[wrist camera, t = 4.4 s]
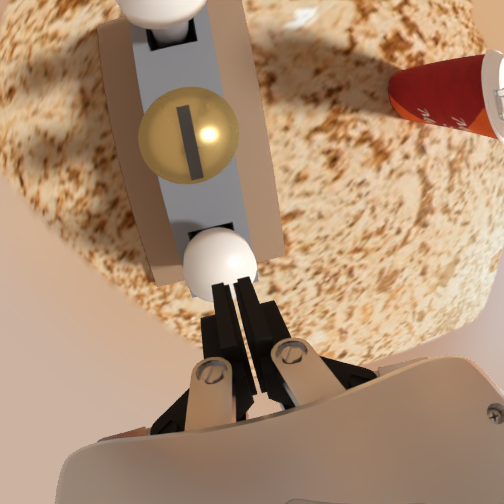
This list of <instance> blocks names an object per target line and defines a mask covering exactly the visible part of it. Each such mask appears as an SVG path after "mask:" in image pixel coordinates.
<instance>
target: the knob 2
mask: <svg viewBox="0 0 504 504" xmlns="http://www.w3.org/2000/svg"><path fill="white" fill-rule="evenodd" d="M256 271H257V265H256V260H255V257H254V254H253V252H252V251H251V249H250V247H249V245H248V243H247V241H246V240H245V239H244V238H243V237H242V236H241V235H240V234H239V233H237V232H235V231H233V230H231V229H228V228H226V227H225V225H224V224H222V225H217V226H213V227H209V228H205V229H201V230H197V235H196V236H195V237H193V239H192V240H191V241H190V242H189V243H188V245H187V247H186V250H185V253H184V262H183V274H184V279H185V282H186V284H187V286H188V288H189V289H190V290H191V291H192V292H193V293H194V294H195V295H196V296H197V297H199V298H201V299H203V300H206V301H209V302H213V294H212V287H211V285H214V284H218V283H222V282H224V285H228V284H229V286H230V290H231V294H232V298H233V300H234V299H236V294H235V290H234V286H233V283H237V279H239V278H243V277H247V276H249V277H250V279H251V282H252V283H253V281H254V279H255V276H256Z"/></svg>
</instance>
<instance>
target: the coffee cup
mask: <svg viewBox="0 0 504 504" xmlns="http://www.w3.org/2000/svg"><path fill="white" fill-rule="evenodd" d="M388 91H389V98H390V101H391V104H392V106H393V108H394V109H395V111H396V112H397V113H398V114H399V115H400V116H401V117H403V118H405V119H407V120H411V121H416V122H422V123H427V124H433V125H438V126H444V127H449V128H454V129H458V130H463V131H467V132H472V133H476V134H480V135H484V136H488V137H491V138H495V139H499V140H500V141H501V143H503V144H504V54H503V53H501V52H499V51H497V50H489V51H488V52H487V53H486V54H483V55H476V56H469V57H462V58H456V59H450V60H445V61H440V62H435V63H430V64H426V65H421V66H417V67H413V68H409V69H406V70H402V71H399V72H397V73H395V74H394V75H393V76H392V78H391V80H390V82H389V88H388Z"/></svg>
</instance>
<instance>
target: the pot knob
mask: <svg viewBox="0 0 504 504" xmlns="http://www.w3.org/2000/svg"><path fill="white" fill-rule="evenodd" d="M238 141H239V125H238V121H237V118H236V115H235V113H234V111H233V109H232V108H231V106H230V105H229V104H228V102H227V101H226V100H224V99H223V98H222V97H221V96H220V95H218V94H217V93H215V92H213V91H211V90H208V89H205V88H201V87H181V88H177V89H174V90H171V91H169V92H167V93H165V94H163V95H162V96H160V97H159V98H158V99H156V100H155V101H154V102H153V103H152V104H151V105H150V107H149V108H148V109H147V111H146V112H145V114H144V116H143V118H142V121H141V123H140V127H139V134H138V142H139V148H140V152H141V155H142V157H143V159H144V161H145V163H146V164H147V166H148V167H149V168H150V169H151V170H152V171H153V172H154V173H155V174H156V175H158V176H159V177H161V178H163V179H165V180H167V181H169V182H172V183H176V184H184V185H188V184H197V183H201V182H204V181H207V180H209V179H211V178H213V177H214V176H216V175H218V174H219V173H220V172H221V171H222V170H223V169H224V168H225V167H226V166H227V165H228V164H229V163H230V161H231V160H232V158H233V156H234V154H235V152H236V149H237V146H238Z"/></svg>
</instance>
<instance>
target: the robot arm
mask: <svg viewBox="0 0 504 504" xmlns="http://www.w3.org/2000/svg"><path fill="white" fill-rule="evenodd" d="M233 286H234V290H235V294H236V298H237V302H238V307H239V311H240V315H241V319H242V323H243V327H244V331H245V335H246V339H247V342H248V346H249V350H250V353H251V357H252V360H253V364H254V368H255V371H256V375H257V378H258V382H259V385H260V389H261V392H262V393H264V392H267V394H268V397H269V399H272V400H274V401H276V402H279V403H280V405H281V408H282V410H283V411H280V412H277V413H273V414H269V415H265V416H261V417H257V418H253V419H248V413H247V410H248V409H249V408H250V407H251V405H252V404H253V403H254V400H253V396H252V395H256V394H257V391H256V387H255V383H254V380H253V376H252V372H251V368H250V365H249V361H248V357H247V353H246V349H245V345H244V341H243V338H242V334H241V330H240V326H239V322H238V318H237V314H236V310H235V306H234V302H233V298H232V294H231V290H230V286H229V284H228V285H224V282H222V283H218V284H214V285H211V287H212V294H213V302H214V309H215V315H212V316H207V317H203V318H201V332H202V344H203V355H204V360H202V361H200V362H199V363H198V364H197V365H196V366H195V367H194V368H193V371H192V375H191V382H190V388H189V389H188V390H187V391H186V392H185V393H184V394H183V395H182V396H181V397H180V398H179V399H178V400H177V401H176V402H175V403H174V404H173V405H172V406H171V407H170V408H169V409H168V410H167V411H166V412H165V413H164V414H163V415H161V416H160V417H159V419H157V421H155V423H154V424H153V426H152V427H151V428H148V429H147V428H146V427H141V428H138V429H135V430H131V431H128V432H124V433H120V434H117V435H113V436H109V437H105V438H103V439H100V440H99V441H98V442H97V443H94V444H90V445H88V446H85V447H83V448H80V449H79V450H77V451H75V452H73V453H72V454H71V455H70V456H69V457H68V458H67V459H66V460H65V462H64V464H63V466H62V469H61V472H60V476H59V480H58V485H57V491H56V499H55V504H504V392H503V391H502V389H501V388H500V387H499V386H498V385H497V384H496V383H495V382H494V380H493V379H492V378H491V377H490V376H489V375H488V374H487V373H486V372H485V371H484V370H483V369H482V368H480V367H479V366H478V365H477V364H476V363H474V362H473V361H471V360H469V359H468V358H466V357H462V356H459V355H445V356H438V357H433V358H426V357H425V358H418V359H414V360H410V361H406V362H402V363H398V364H393V365H389V366H384V367H379V368H378V370H377V371H371V370H369V369H366V368H363V367H359V366H355V365H351V364H347V363H343V362H340V361H336V360H332V359H329V358H325V357H321V356H319V355H318V354H317V353H316V352H315V350H314V349H313V348H312V346H311V345H310V344H309V343H308V342H307V341H305V340H303V339H300V338H291V336H290V333H289V331H288V329H287V327H286V325H285V323H284V320H283V318H282V316H281V314H280V312H279V309H278V307H277V305H276V303H275V301H274V300H273V301H269V302H265V303H261V304H260V303H259V301H258V298H257V295H256V293H255V290H254V287H253V285H252V282H251V279H250V277H249V276H247V277H243V278H239V279H237V283H233Z"/></svg>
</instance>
